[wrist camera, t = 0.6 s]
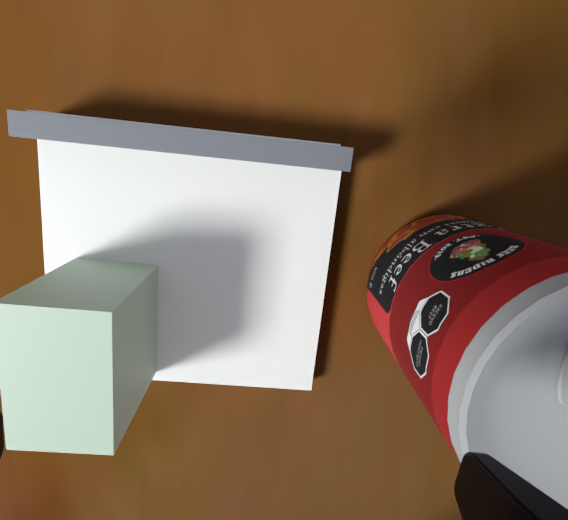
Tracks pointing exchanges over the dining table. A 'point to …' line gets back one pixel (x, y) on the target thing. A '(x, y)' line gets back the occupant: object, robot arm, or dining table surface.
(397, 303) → the canned food
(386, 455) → the dining table surface
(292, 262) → the shelf
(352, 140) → the dining table surface
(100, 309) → the carton
